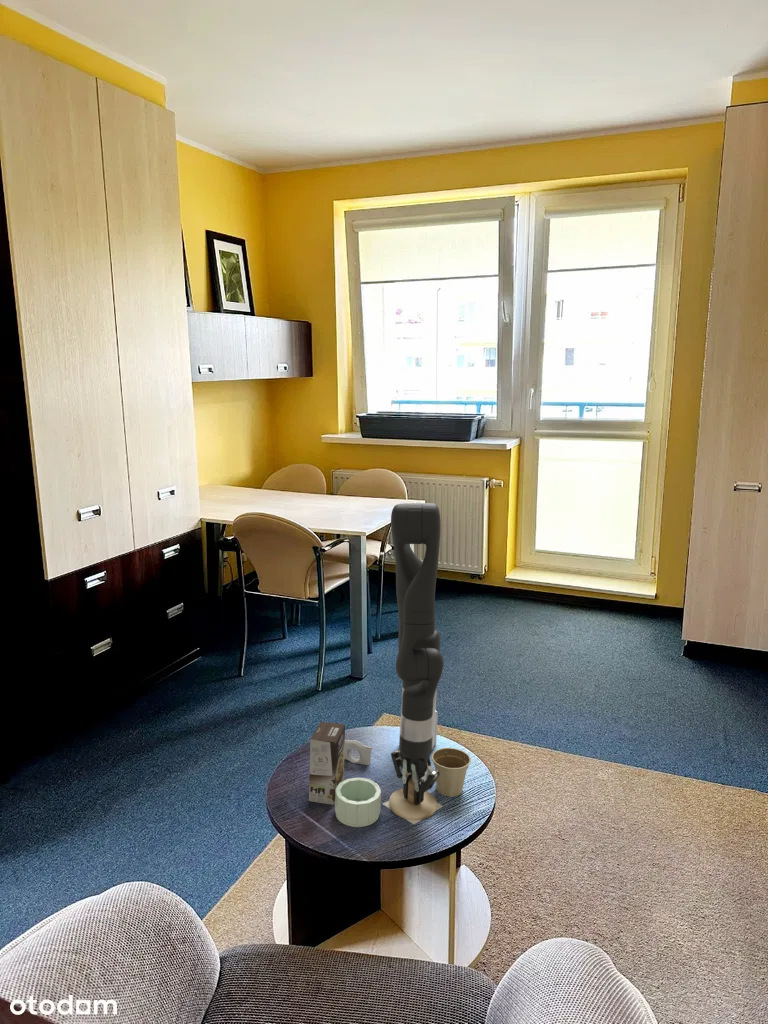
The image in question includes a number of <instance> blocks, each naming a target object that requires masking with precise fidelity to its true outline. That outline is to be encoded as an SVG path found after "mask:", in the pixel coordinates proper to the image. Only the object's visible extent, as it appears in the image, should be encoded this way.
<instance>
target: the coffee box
mask: <svg viewBox="0 0 768 1024" xmlns="http://www.w3.org/2000/svg"><path fill="white" fill-rule="evenodd" d="M309 739H310V743H309V744H310V745H309V746H310V747H309V778H308V779H309V783H308V786H309V787H308V788H309V789H308V801H309V802H314V803H321V804H326V805H334V806H335V790H336V788H337V786H338V784H339V783H341V782H343V781H345V759H344V748H345V740H346V724H344V723H337V722H327V721H320V722H319V724H318V725H317V727H316V728H315V731H314V732H313V734H312V735H311V737H310V738H309Z"/></svg>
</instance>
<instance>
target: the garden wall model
mask: <svg viewBox="0 0 768 1024" xmlns="http://www.w3.org/2000/svg"><path fill="white" fill-rule="evenodd" d="M372 749H373V746H367V745H365V744H364V743H363V742H360V741H359V740H357V739H352V740H351V739H350V740H348V739H345V748H344V760H346V761H349V762H350V763H353V764H358V765H365V766H370V765H371V761H372V760H371V759H372V758H371V756H372V755H371V754H372V752H371V751H372Z"/></svg>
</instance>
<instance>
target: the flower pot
mask: <svg viewBox="0 0 768 1024" xmlns="http://www.w3.org/2000/svg"><path fill="white" fill-rule="evenodd" d="M431 761H432V762H433V766H434V771H436V770H438V771H439V773H440V775H439V776H438V778H437V780H436V781H435V783H436V784H435V785H436V786H435V787H436V791H437V792H438V793H439V794H440V795H442V796H444V797H452V798H453V797H457V796H460V795H461V794H462V792H463V787H464V784H465V779H466V773H467V770H468V768H469V766H470V765H471V763H472V758H471V756H470V755H469V754H468V753H467V752H466V751H465V750H464V751H463V750H461V749H459V748H455V747H442V748H438V749H436V750H435V751H434V752H433V753H431Z"/></svg>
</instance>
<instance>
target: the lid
mask: <svg viewBox="0 0 768 1024" xmlns="http://www.w3.org/2000/svg"><path fill="white" fill-rule="evenodd" d="M414 790H415V782H414V781H413V779H410V780H409V781H408V799H406V798H404V794H403V787H402V788H399V789H397V790H395V791H393V792H392V793H391V795H390V796H389V800H388V801H389V806H390V809H389V810H391V812H392V813H393V814H395V815H396V816H398V817H400V818H401V819H405V820H406V819H409V820H421V819H422V820H425V819H427V818H430V817H431V816H433V815H434V814H435V813H436V811H437V810H436V807H437V803H438V802H437V799H436V797H435V795H433V794H432V793H431V792H429V790H427V791H426V792H424V800H423V802H421V803H420V804H418V805H415V804H414ZM422 820H421V821H422Z"/></svg>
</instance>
